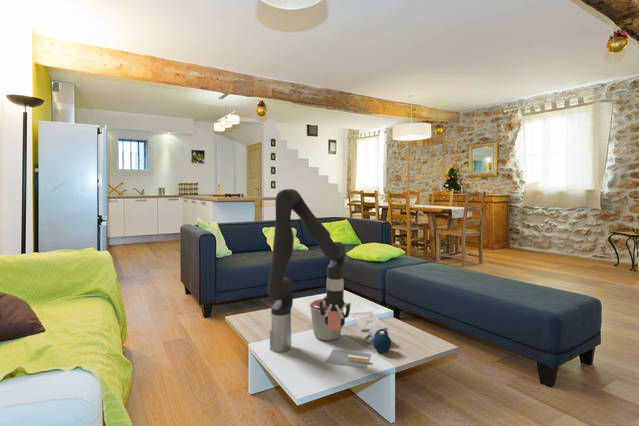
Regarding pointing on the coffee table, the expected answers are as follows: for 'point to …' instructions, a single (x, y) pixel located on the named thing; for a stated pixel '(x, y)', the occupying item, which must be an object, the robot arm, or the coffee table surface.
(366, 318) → the envelope
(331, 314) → the box
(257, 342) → the coffee table surface
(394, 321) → the coffee table surface
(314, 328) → the canister
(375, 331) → the ceramic mug
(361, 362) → the mat
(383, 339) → the christmas ornament
